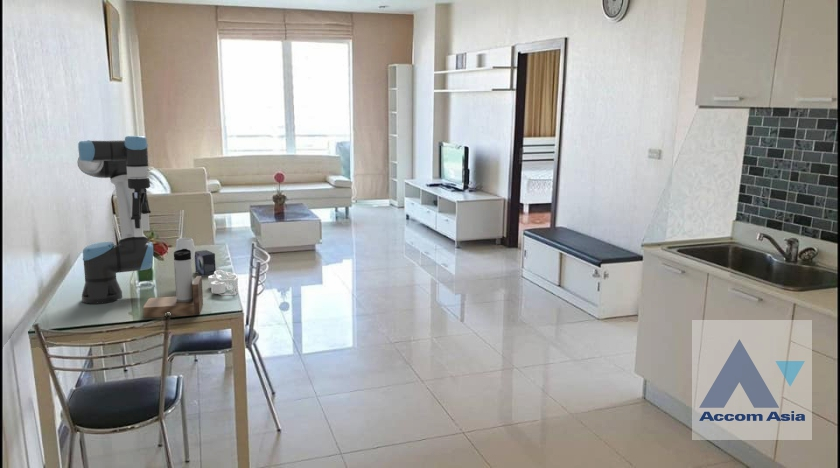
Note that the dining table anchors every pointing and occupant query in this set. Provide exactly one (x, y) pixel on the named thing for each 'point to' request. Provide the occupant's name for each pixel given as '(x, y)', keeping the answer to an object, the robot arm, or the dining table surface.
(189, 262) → the travel mug
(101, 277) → the robot arm
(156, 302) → the ledge
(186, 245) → the wineglass
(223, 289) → the car outline toy
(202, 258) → the small box
